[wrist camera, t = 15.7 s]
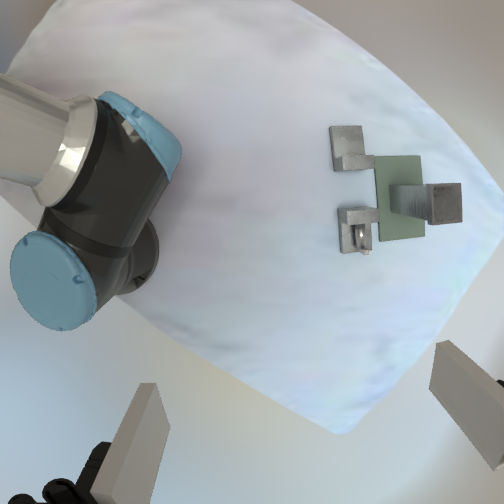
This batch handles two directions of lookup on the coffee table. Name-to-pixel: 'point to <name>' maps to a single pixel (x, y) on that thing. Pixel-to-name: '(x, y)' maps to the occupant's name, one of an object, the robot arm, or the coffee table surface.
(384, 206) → the mat
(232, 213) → the coffee table surface
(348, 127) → the silver metal blocks
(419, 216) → the bar
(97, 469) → the robot arm
